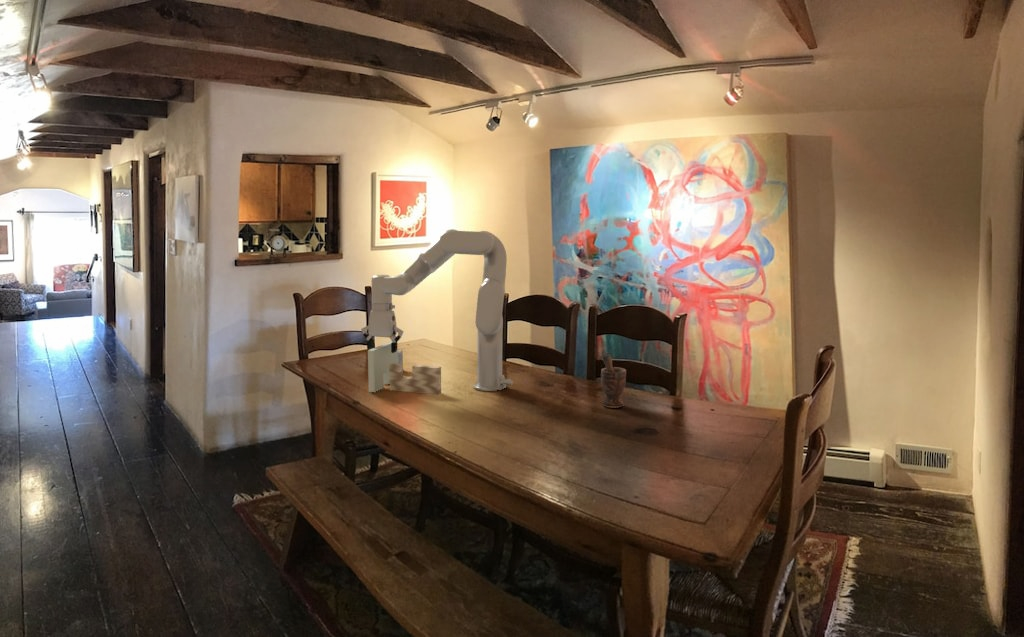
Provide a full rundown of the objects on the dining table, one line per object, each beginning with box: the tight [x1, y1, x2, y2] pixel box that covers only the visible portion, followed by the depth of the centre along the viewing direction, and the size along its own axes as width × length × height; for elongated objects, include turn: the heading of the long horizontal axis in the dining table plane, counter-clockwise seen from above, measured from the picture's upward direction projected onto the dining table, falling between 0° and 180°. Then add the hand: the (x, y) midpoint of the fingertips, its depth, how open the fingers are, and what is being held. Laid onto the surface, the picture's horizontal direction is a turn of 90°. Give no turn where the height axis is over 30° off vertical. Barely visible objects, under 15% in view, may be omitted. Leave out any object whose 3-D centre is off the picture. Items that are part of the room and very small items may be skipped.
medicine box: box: [398, 349, 404, 365], centre depth 283 cm, size 8×4×9 cm, turn 84°
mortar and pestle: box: [600, 353, 627, 406], centre depth 230 cm, size 12×9×20 cm
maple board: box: [389, 363, 442, 395], centre depth 250 cm, size 20×2×10 cm, turn 74°
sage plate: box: [367, 340, 399, 393], centre depth 257 cm, size 20×2×16 cm, turn 164°
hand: (382, 351), depth 256 cm, fingers open, 9 cm apart
